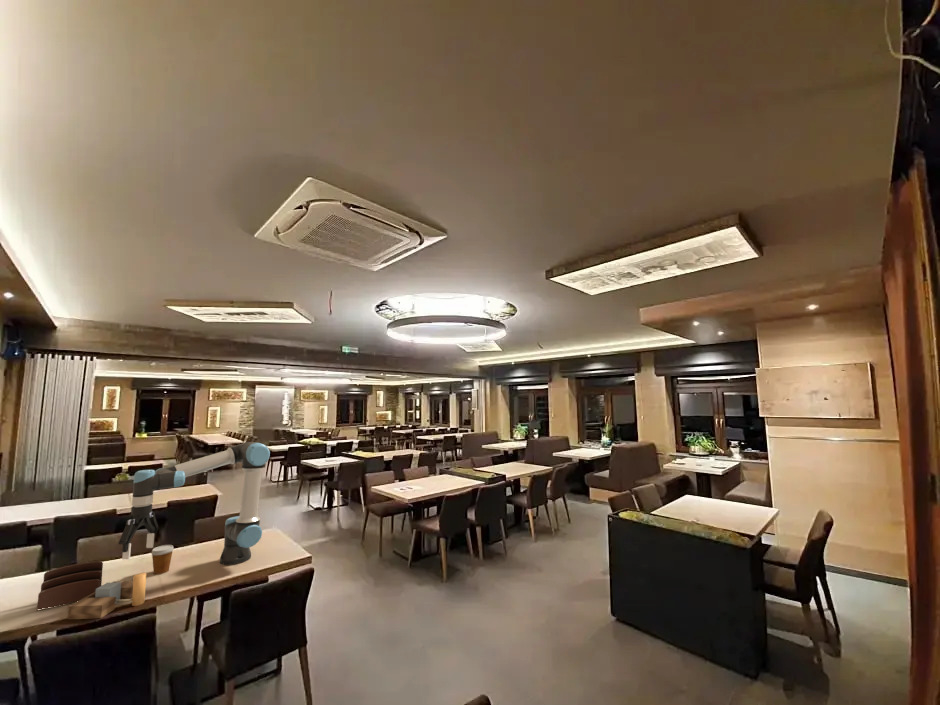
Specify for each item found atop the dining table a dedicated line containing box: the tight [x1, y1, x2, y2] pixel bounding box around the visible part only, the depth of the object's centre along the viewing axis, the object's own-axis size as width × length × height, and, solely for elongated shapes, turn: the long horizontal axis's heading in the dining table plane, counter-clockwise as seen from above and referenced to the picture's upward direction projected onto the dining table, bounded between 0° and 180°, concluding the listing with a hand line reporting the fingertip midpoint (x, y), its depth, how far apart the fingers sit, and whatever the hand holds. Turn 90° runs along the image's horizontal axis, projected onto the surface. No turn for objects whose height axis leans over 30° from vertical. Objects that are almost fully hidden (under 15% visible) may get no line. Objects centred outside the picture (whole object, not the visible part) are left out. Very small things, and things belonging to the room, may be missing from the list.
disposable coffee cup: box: [150, 544, 175, 575], centre depth 212 cm, size 10×10×12 cm
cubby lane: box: [67, 580, 133, 620], centre depth 179 cm, size 13×22×5 cm, turn 3°
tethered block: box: [95, 572, 147, 607], centre depth 179 cm, size 18×6×12 cm, turn 93°
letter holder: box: [36, 560, 104, 610], centre depth 184 cm, size 10×20×14 cm, turn 128°
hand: (138, 553), depth 184 cm, fingers open, 13 cm apart
